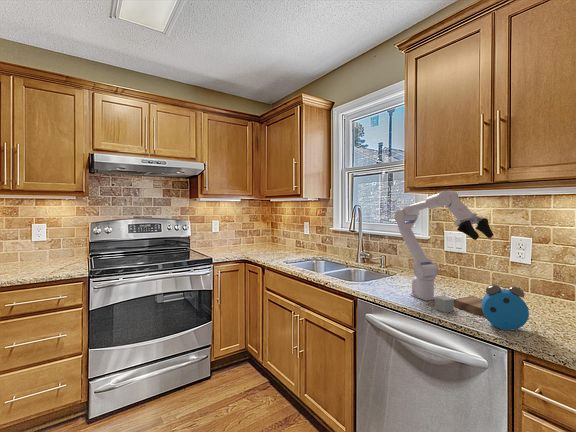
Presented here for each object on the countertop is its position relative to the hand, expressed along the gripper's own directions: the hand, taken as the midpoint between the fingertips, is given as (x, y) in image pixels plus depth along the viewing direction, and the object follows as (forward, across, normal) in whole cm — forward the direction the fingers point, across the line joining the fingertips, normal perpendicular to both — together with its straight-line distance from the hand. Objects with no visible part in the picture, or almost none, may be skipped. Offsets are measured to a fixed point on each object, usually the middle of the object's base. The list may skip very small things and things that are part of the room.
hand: (484, 237), depth 118 cm
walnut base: (+16, +6, +28) cm, 33 cm away
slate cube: (+12, -8, +31) cm, 34 cm away
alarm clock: (+28, -3, +16) cm, 33 cm away
